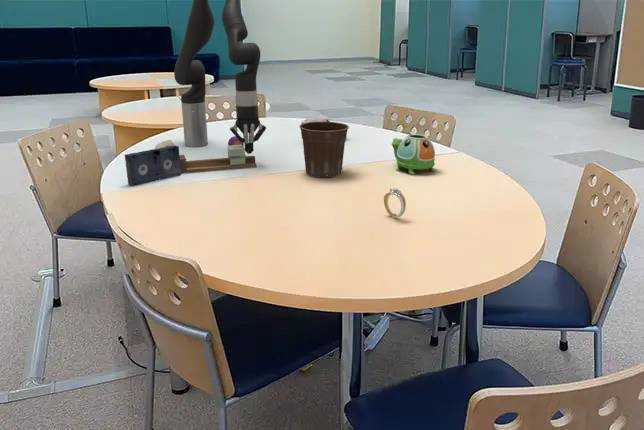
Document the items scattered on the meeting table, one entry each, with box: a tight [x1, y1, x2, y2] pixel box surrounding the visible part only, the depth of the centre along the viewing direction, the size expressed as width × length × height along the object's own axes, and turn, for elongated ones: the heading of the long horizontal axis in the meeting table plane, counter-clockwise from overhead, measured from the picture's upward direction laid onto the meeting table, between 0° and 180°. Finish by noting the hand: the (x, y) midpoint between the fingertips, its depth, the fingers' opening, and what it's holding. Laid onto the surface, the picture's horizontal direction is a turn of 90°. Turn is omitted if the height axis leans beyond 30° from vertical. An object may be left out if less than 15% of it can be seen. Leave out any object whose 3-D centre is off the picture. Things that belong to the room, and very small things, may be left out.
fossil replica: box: [154, 139, 177, 149], centre depth 212 cm, size 12×8×10 cm
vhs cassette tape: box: [124, 144, 182, 187], centre depth 192 cm, size 18×3×10 cm, turn 134°
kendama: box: [227, 135, 247, 156], centre depth 225 cm, size 6×6×20 cm
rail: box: [179, 154, 258, 175], centre depth 206 cm, size 6×26×5 cm, turn 108°
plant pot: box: [299, 121, 350, 178], centre depth 198 cm, size 16×16×16 cm
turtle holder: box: [391, 133, 436, 176], centre depth 203 cm, size 12×18×12 cm
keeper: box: [227, 145, 246, 165], centre depth 208 cm, size 6×5×6 cm
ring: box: [383, 188, 407, 219], centre depth 157 cm, size 7×3×8 cm, turn 34°
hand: (249, 153), depth 209 cm, fingers closed
